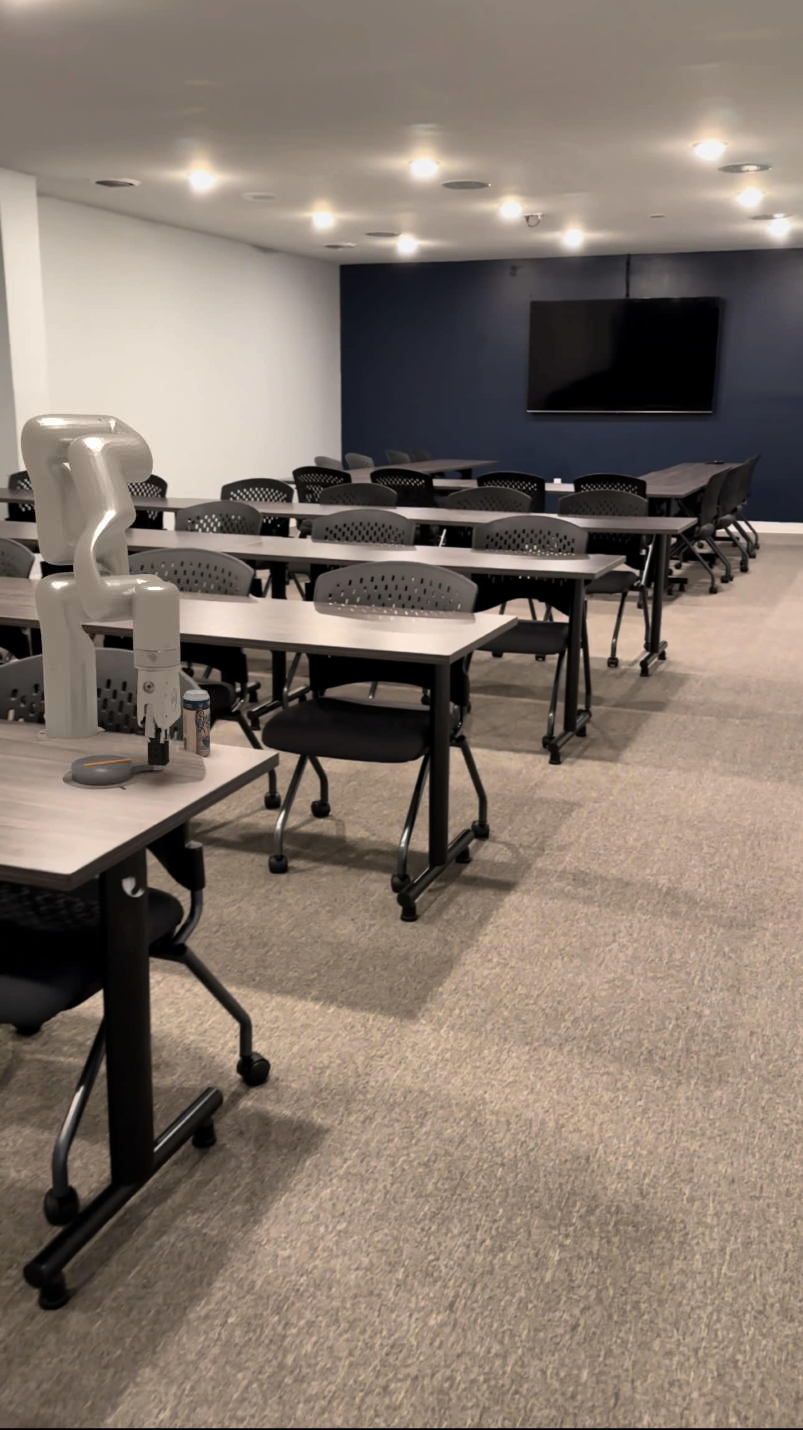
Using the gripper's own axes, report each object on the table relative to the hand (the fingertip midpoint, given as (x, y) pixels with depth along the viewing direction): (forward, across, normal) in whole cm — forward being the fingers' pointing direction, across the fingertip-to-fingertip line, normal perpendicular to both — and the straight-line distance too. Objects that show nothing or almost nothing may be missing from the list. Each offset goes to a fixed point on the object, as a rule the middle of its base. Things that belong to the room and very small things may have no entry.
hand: (158, 763), depth 205 cm
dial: (+2, +1, +7) cm, 8 cm away
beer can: (+4, +19, -2) cm, 20 cm away
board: (+4, 0, +8) cm, 9 cm away
